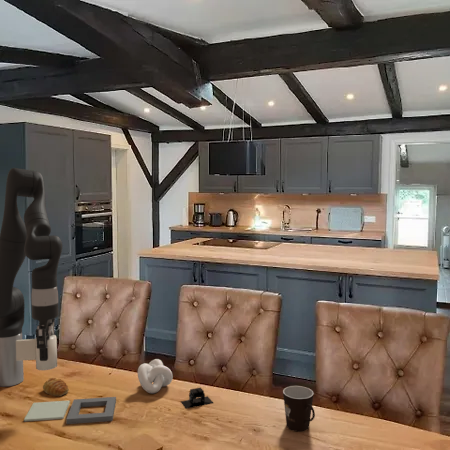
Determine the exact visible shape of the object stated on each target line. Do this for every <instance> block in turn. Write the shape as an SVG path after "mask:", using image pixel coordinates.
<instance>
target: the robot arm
mask: <svg viewBox="0 0 450 450" xmlns="http://www.w3.org/2000/svg"><path fill="white" fill-rule="evenodd" d="M44 181H45V180H44V177H43V175H42V174H41V172H39V171H37V170H36V171H35V170H32V169H24V168H17V167H12V168H10V170H9V171H8V174H7V177H6V184H5V185H6V187H5V195H4V196H5V197H4V209H3V218H2V221H1V229H0V387H13V386H15V385H18V384H20V383H22V382H23V381H24V379H25V378H24V377H25V376H24V375H25V374H24V360H22V361H16V340H23V326H24V323H25V308H26V307H25V298H24V297H25V296H24V294H23V293H22V291H21V290H20V289H19V288H17V287H15V286H14V284H15V280H16V276H17V275H18V272H19V270H20V269H21V267H22V265H23V263H24V262H25V259H26V258H28V259H29V260H31V261H38V260H39V261H40V260H41V261H42V260H48V261H47V263H46V264H44V265H42V266H38V267H36V268H34V269H32V271H31V296H30V297H31V300H30V301H31V318H32V319H33V320H35V321H38V324H37V326H36V327H37V328H36V330H35V338H36V341H37V349H39V350H40V361H47V360H48V340H50V335H56V334H55V319H57V318H58V317H59V313H60V312H59V292H58V278H57V277H58V267H59V262H60V259H61V255H62V252H63V242H62V240H61V238H60V237H59V236H57V235H51V233H52V226H51V224H50V220H49V217H48V213H47V208H46V207H47V206H46V204H47V203H46V202H47V201H46V189H45V182H44ZM18 197H24V198H33V200H32V201H31V203H30V204H29V206H27V208H26V209H25V211H24V214H23V218H22V217H21V214H20V211H19V208H18ZM46 336H47V337H46ZM41 341H43V342H44V344H41Z"/></svg>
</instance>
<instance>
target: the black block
mask: <svg viewBox="0 0 450 450" xmlns="http://www.w3.org/2000/svg"><path fill="white" fill-rule="evenodd" d="M188 397H189V399H187V400H183V401H180V403H181V405H182V406H183V407H184V408H185V409H187V410H188V409H192V408H197V407H202V406H205V405H212V404H214V402H213V400H212V399H211V398H210V397H209V396H208V395H207V396H206V393H205V391H204V390H203V388H202V387H197V388H191V389H189V392H188Z"/></svg>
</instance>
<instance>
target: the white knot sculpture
mask: <svg viewBox="0 0 450 450" xmlns="http://www.w3.org/2000/svg"><path fill="white" fill-rule="evenodd" d="M137 379H138V382H139V384H140V386H141V388H142V389H143V390H144V391H146V393H149V394H156V393H158V392H159V391H160V390H161V389H162V387H167V386H168V385H170V384H171V383H172V380H173V371H171V369H170V368H169V367H167V366H165V365H164V363H163V361H162V360H161V359H159V358H155V359H152V360H151V361H150V362H149V363H145V362H144V363H142V364H140V365H139V366H138V369H137Z"/></svg>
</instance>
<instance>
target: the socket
mask: <svg viewBox="0 0 450 450" xmlns="http://www.w3.org/2000/svg"><path fill="white" fill-rule="evenodd" d="M116 403H117V396H107V397H93V398H92V397H91V398H90V397H89V398H78V399H77V398H73V401H72V403H71V406H70V408H69V412H68V414H67V416H66V420H65V425H72V424H73V425H74V424H89V423H91V424H92V423H101V422H103V423H104V422H113V421H114V416H115V415H114V414H115V409H116V405H117V404H116ZM100 406H105V409H104V412H93V413H80V411H81V408H86V407H88V408H89V407H100Z"/></svg>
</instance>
